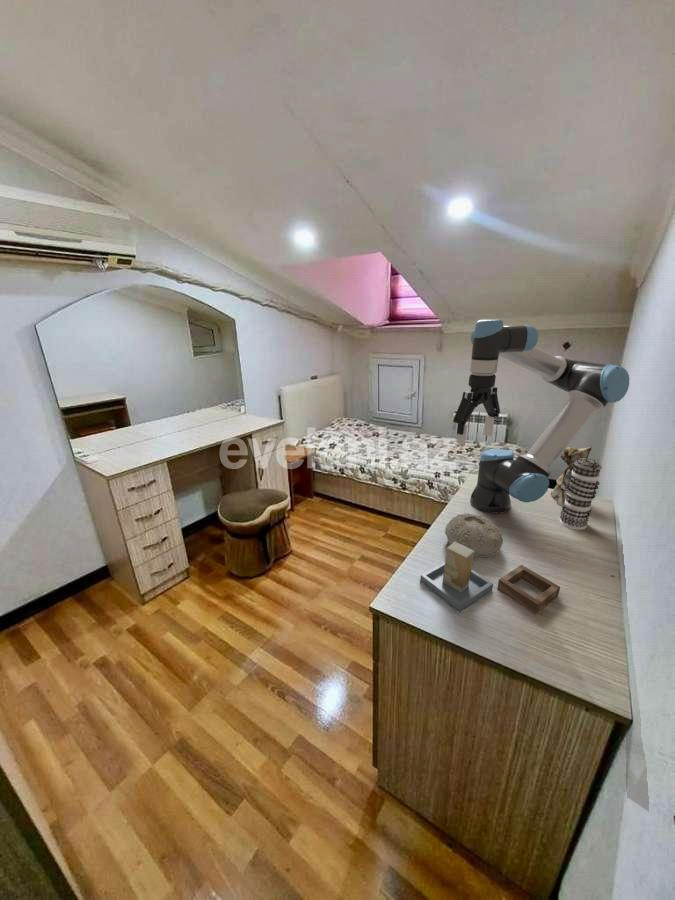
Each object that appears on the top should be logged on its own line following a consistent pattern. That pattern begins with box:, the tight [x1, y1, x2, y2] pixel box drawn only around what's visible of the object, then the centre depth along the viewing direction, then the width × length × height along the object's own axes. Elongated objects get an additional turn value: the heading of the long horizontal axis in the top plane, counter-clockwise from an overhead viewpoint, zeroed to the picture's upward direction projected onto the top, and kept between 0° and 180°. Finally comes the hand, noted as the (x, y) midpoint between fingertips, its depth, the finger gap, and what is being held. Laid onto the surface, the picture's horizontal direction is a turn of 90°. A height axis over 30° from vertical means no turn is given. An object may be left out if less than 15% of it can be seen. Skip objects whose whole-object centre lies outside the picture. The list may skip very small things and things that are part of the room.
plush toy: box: [550, 445, 592, 507], centre depth 140 cm, size 14×14×25 cm
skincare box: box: [443, 542, 475, 593], centre depth 98 cm, size 6×4×12 cm
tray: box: [419, 561, 494, 613], centre depth 100 cm, size 14×14×2 cm
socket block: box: [496, 564, 561, 616], centre depth 96 cm, size 11×11×4 cm
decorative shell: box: [444, 512, 504, 558], centre depth 115 cm, size 18×18×10 cm
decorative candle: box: [559, 457, 603, 531], centre depth 124 cm, size 9×9×25 cm
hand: (474, 439), depth 114 cm, fingers open, 13 cm apart
